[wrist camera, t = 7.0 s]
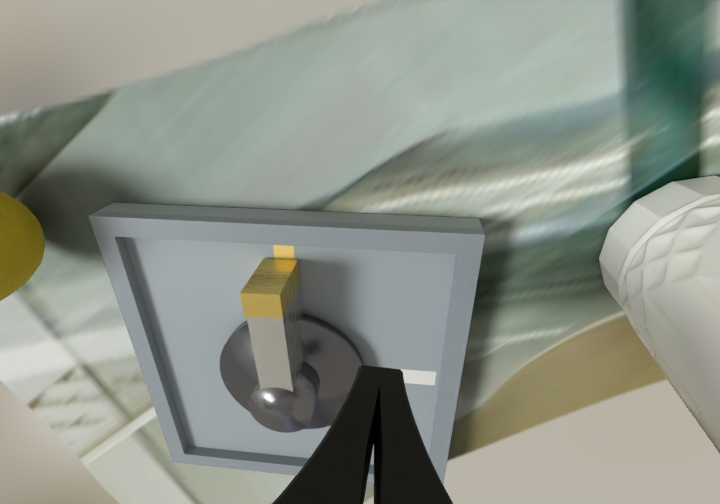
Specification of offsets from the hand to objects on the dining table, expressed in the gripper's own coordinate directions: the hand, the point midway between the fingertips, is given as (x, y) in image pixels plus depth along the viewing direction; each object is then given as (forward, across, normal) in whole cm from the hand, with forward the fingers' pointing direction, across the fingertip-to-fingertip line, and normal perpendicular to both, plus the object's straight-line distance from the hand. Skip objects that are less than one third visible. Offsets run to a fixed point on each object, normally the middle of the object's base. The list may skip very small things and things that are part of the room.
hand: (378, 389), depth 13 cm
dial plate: (+8, +5, +6) cm, 11 cm away
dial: (+7, +5, +5) cm, 10 cm away
